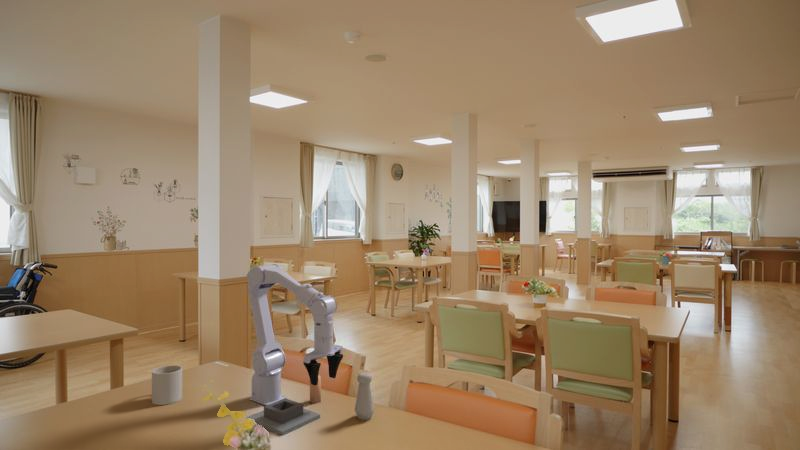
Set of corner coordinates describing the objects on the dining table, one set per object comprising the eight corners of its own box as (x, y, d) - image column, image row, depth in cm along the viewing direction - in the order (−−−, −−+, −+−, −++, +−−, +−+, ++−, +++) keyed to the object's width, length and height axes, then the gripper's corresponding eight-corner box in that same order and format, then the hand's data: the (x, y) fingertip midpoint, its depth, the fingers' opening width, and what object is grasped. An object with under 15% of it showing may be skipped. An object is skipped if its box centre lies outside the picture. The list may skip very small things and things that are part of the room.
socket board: (246, 420, 133) (246, 406, 133) (284, 405, 144) (284, 392, 144) (282, 435, 123) (282, 420, 123) (320, 417, 135) (320, 404, 135)
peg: (307, 401, 147) (307, 377, 147) (315, 398, 150) (315, 374, 150) (315, 404, 145) (315, 379, 145) (323, 400, 148) (323, 376, 148)
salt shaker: (371, 422, 132) (371, 377, 132) (352, 420, 133) (352, 376, 133) (376, 414, 137) (376, 371, 137) (358, 412, 138) (358, 369, 138)
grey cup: (173, 405, 144) (173, 373, 144) (144, 405, 144) (143, 373, 144) (190, 392, 155) (190, 363, 155) (162, 392, 155) (162, 363, 155)
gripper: (315, 343, 130) (314, 390, 130) (349, 333, 142) (349, 377, 142) (298, 339, 134) (298, 385, 135) (333, 330, 146) (333, 372, 146)
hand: (323, 380), depth 139 cm, fingers open, 7 cm apart
